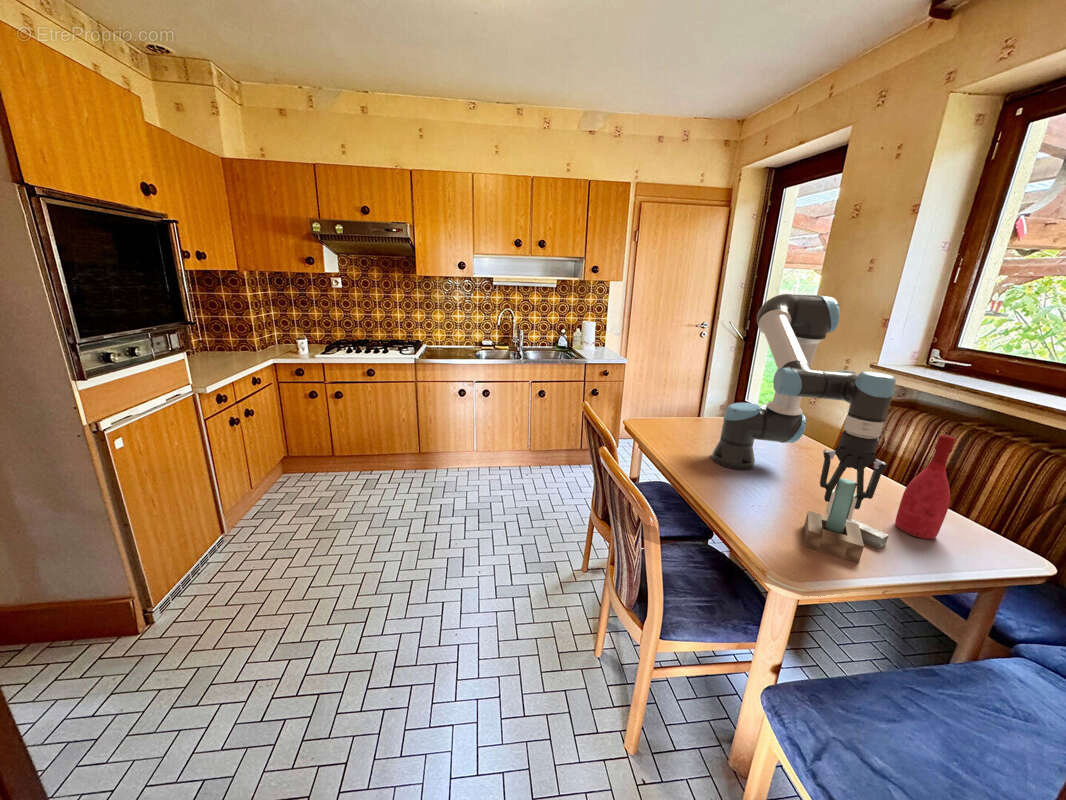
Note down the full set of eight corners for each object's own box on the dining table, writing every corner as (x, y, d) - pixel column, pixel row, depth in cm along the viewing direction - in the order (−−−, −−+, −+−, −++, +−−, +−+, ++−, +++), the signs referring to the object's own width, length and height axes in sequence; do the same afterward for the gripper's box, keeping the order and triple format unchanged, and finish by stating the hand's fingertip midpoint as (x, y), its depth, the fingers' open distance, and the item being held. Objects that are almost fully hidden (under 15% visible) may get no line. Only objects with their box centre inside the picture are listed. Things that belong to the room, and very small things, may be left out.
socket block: (804, 546, 115) (808, 530, 113) (804, 525, 125) (808, 510, 123) (858, 563, 109) (864, 546, 107) (854, 540, 119) (858, 524, 117)
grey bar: (838, 530, 123) (841, 519, 122) (845, 527, 125) (848, 516, 124) (879, 549, 115) (882, 538, 114) (885, 546, 117) (888, 535, 116)
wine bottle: (884, 521, 129) (914, 428, 121) (914, 521, 130) (946, 429, 121) (915, 541, 120) (950, 442, 111) (946, 540, 121) (983, 442, 112)
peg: (825, 529, 114) (838, 482, 111) (825, 523, 118) (837, 477, 114) (843, 534, 112) (857, 487, 109) (842, 527, 116) (855, 481, 112)
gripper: (821, 430, 109) (801, 511, 115) (907, 446, 100) (879, 532, 107) (820, 422, 115) (801, 500, 121) (901, 437, 106) (875, 519, 113)
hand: (837, 515), depth 114 cm, fingers closed on peg, 4 cm apart
